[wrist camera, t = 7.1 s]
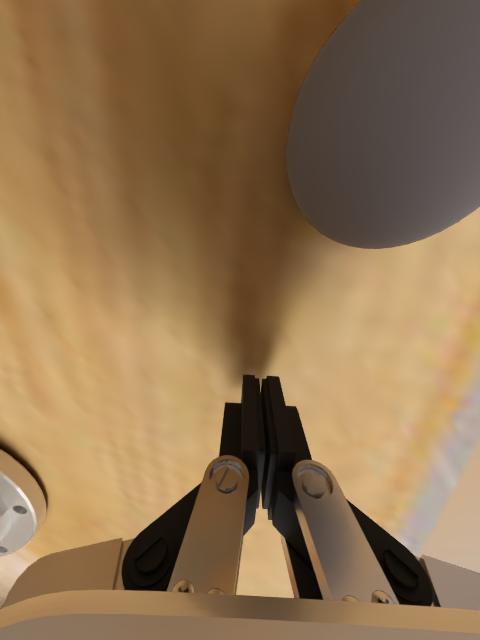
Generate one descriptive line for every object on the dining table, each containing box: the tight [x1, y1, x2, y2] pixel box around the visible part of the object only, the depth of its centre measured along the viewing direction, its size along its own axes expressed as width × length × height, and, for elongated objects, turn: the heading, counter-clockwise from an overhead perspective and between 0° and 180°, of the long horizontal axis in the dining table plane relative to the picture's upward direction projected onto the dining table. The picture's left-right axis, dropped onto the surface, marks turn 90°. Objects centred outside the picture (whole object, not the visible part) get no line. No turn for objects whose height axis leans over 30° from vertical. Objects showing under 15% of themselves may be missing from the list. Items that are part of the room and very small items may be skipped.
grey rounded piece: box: [286, 0, 480, 249], centre depth 6 cm, size 6×6×6 cm
